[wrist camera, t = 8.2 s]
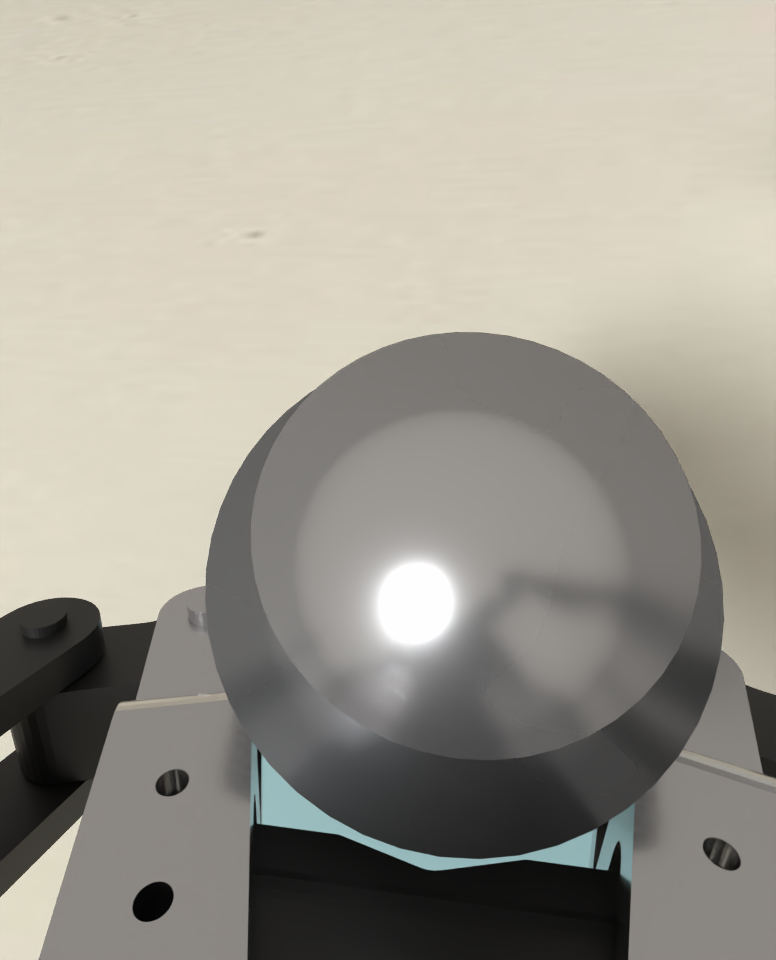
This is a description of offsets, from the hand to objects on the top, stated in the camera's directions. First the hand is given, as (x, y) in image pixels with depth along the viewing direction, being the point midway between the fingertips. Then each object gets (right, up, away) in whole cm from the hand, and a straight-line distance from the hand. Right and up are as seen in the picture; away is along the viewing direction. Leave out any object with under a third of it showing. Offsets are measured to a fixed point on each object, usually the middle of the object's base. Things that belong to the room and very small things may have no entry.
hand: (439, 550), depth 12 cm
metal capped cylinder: (0, -4, +4) cm, 6 cm away
